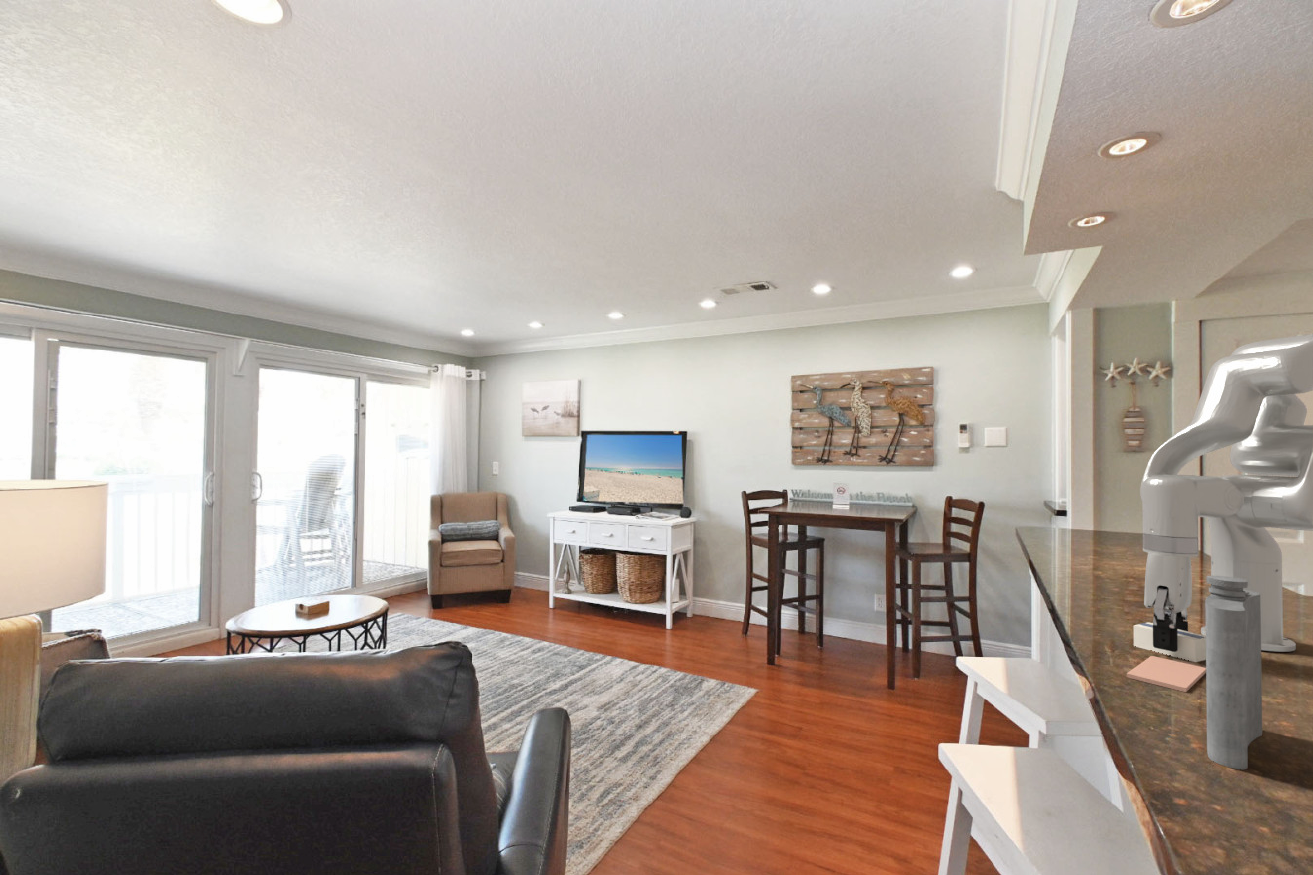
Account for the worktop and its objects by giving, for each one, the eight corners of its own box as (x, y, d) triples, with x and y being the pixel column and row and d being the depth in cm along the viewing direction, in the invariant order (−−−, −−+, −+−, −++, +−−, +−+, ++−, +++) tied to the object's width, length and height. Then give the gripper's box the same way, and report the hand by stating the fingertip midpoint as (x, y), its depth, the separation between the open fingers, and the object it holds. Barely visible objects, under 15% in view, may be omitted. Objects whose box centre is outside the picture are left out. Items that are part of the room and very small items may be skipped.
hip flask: (1245, 772, 63) (1243, 589, 64) (1195, 757, 67) (1193, 582, 67) (1263, 731, 73) (1261, 572, 74) (1219, 719, 76) (1217, 567, 77)
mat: (1151, 659, 99) (1151, 655, 99) (1206, 671, 94) (1206, 668, 94) (1126, 677, 91) (1126, 673, 91) (1186, 692, 85) (1186, 688, 85)
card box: (1148, 643, 108) (1148, 621, 108) (1210, 659, 100) (1210, 635, 100) (1133, 647, 106) (1133, 624, 106) (1195, 663, 98) (1195, 639, 98)
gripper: (1156, 539, 112) (1156, 631, 111) (1129, 546, 101) (1129, 648, 101) (1208, 544, 106) (1209, 642, 105) (1186, 552, 96) (1187, 661, 95)
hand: (1170, 644), depth 103 cm, fingers open, 6 cm apart
